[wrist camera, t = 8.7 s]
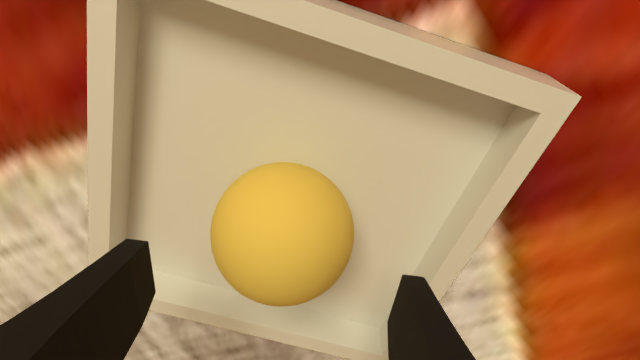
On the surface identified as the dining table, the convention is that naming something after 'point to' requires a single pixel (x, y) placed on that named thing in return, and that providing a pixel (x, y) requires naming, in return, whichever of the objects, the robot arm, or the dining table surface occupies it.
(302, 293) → the ball
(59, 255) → the dining table surface
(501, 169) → the tray
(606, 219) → the dining table surface
